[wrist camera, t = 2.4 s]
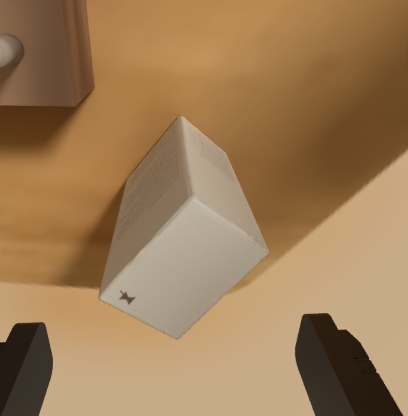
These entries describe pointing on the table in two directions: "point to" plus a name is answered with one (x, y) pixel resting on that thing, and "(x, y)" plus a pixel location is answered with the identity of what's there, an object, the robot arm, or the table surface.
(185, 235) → the skincare box
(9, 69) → the peg shelf stand
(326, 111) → the table surface
